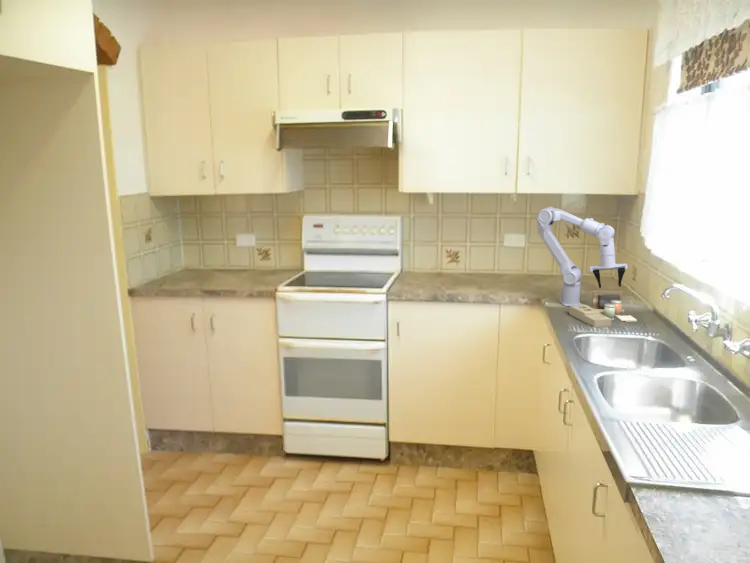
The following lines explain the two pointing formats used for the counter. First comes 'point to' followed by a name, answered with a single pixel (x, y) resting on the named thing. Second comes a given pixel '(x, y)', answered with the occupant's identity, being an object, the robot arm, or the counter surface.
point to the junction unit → (605, 299)
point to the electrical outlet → (589, 316)
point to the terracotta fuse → (617, 307)
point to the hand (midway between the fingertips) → (609, 286)
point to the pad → (626, 318)
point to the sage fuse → (609, 310)
